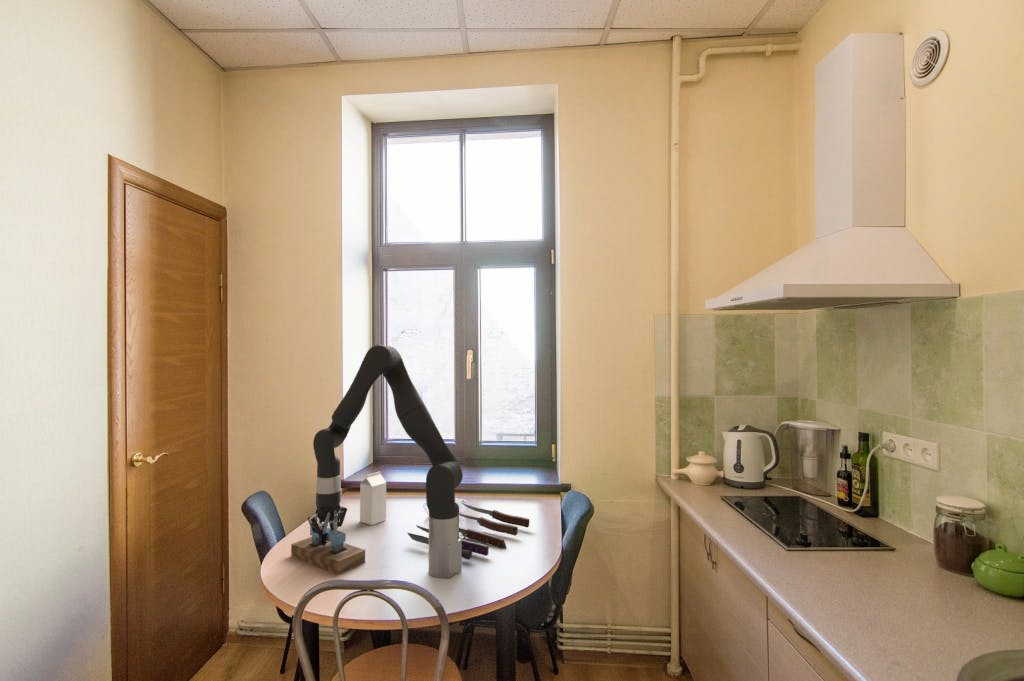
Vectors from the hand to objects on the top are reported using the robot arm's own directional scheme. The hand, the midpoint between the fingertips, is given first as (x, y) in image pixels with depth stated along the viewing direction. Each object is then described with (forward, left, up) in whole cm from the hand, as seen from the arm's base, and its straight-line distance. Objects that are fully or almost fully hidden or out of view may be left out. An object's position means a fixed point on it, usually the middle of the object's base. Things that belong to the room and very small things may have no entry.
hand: (327, 542), depth 156 cm
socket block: (0, 0, -5) cm, 5 cm away
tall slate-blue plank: (0, 0, -3) cm, 3 cm away
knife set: (-27, -39, -6) cm, 48 cm away
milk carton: (+15, -32, -6) cm, 36 cm away
